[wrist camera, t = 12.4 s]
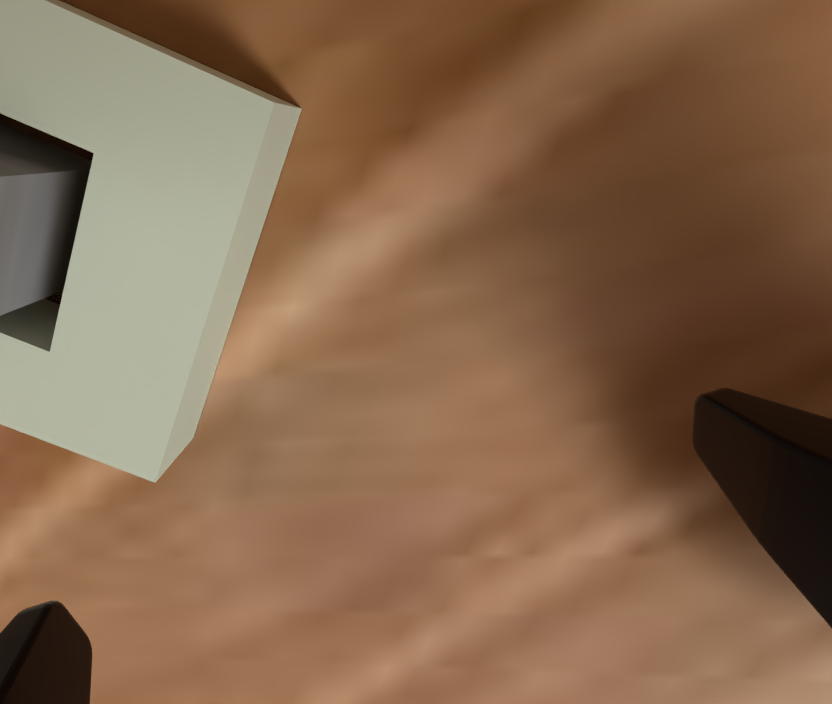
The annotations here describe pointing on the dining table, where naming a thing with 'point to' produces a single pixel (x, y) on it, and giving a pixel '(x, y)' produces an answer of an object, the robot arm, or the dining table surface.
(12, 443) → the dining table surface
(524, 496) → the dining table surface
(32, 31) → the slotted base
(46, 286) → the rectangular block
